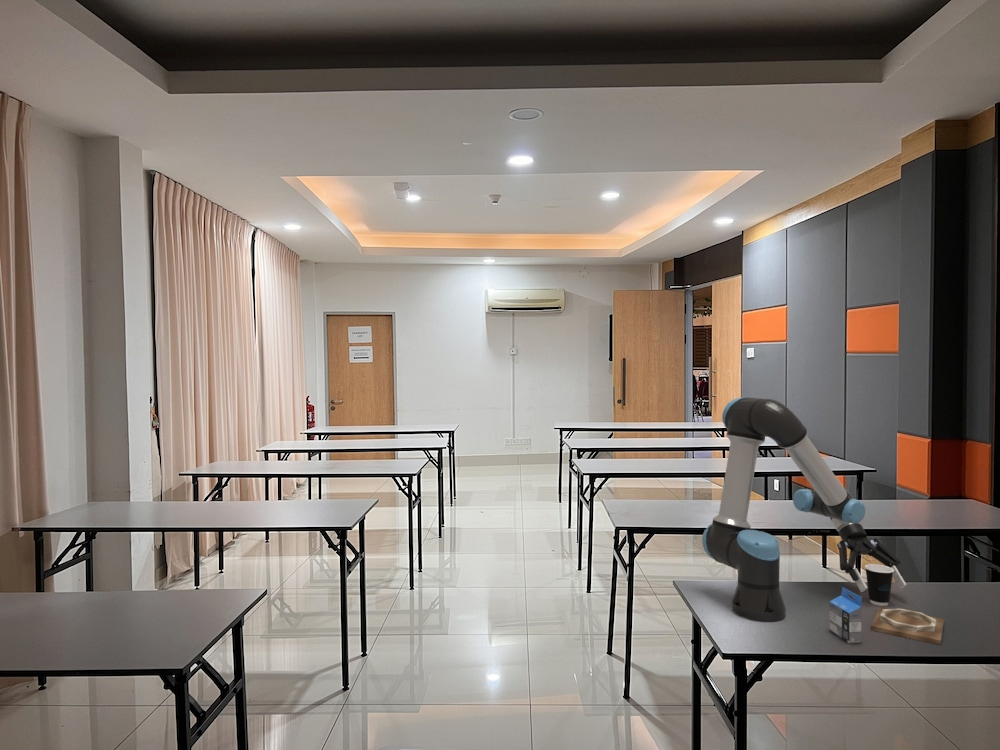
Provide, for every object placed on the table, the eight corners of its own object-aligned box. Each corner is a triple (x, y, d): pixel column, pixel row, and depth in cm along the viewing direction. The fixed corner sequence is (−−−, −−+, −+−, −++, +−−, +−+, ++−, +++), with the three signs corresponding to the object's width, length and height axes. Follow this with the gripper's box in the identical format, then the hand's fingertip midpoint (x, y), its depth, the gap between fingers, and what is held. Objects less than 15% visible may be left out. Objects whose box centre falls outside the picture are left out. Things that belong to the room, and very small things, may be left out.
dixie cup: (871, 596, 205) (871, 562, 205) (898, 603, 199) (898, 568, 198) (859, 602, 200) (859, 567, 200) (887, 609, 194) (887, 573, 194)
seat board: (871, 630, 179) (871, 620, 179) (879, 610, 193) (879, 602, 193) (940, 644, 169) (940, 635, 169) (944, 623, 184) (944, 614, 183)
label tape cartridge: (828, 630, 179) (828, 586, 179) (841, 629, 179) (841, 586, 179) (848, 644, 170) (848, 597, 170) (862, 643, 171) (862, 597, 170)
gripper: (876, 532, 217) (912, 591, 203) (810, 536, 213) (841, 596, 198) (888, 520, 212) (925, 580, 197) (820, 524, 208) (854, 585, 193)
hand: (883, 588), depth 198 cm, fingers open, 13 cm apart
